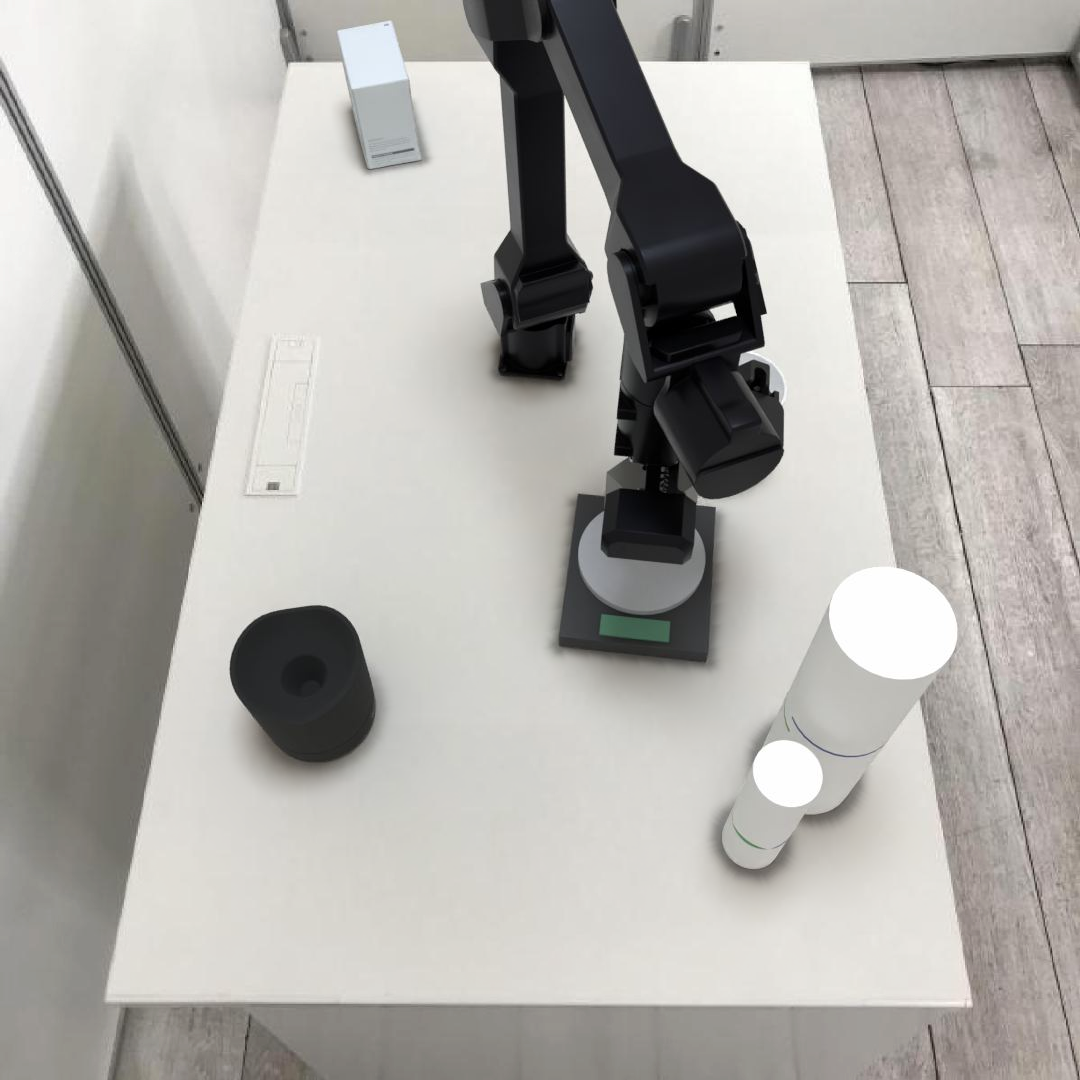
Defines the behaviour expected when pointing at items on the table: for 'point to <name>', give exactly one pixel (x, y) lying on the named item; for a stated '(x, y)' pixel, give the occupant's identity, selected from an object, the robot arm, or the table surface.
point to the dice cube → (642, 478)
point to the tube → (771, 803)
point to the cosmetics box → (379, 94)
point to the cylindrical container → (864, 673)
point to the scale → (637, 593)
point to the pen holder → (305, 681)
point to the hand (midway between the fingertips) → (647, 505)
